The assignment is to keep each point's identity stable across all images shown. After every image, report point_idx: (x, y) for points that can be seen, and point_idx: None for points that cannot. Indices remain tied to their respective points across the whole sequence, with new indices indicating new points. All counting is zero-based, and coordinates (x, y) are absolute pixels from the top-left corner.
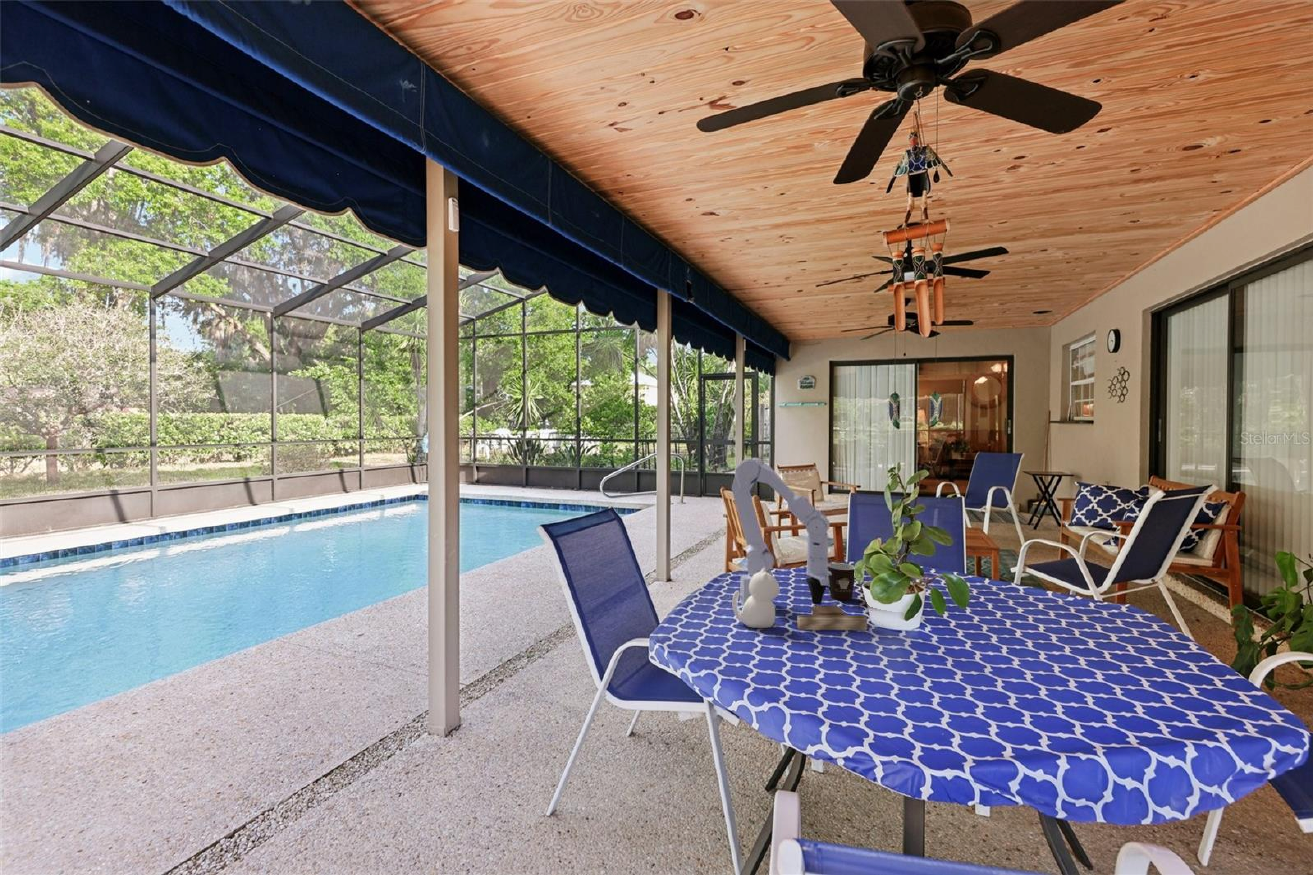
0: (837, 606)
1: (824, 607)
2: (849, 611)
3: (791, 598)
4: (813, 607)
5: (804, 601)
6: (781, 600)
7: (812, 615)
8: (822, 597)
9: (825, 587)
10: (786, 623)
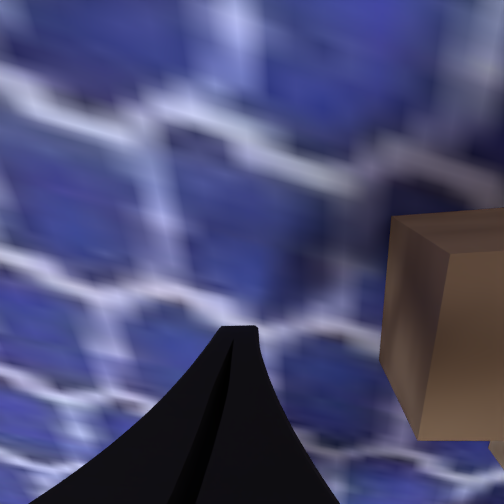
0: (475, 257)
1: (481, 376)
2: (187, 44)
3: (2, 373)
4: (440, 435)
5: (33, 322)
6: (61, 421)
7: (390, 379)
8: (263, 361)
9: (322, 486)
10: (429, 471)
